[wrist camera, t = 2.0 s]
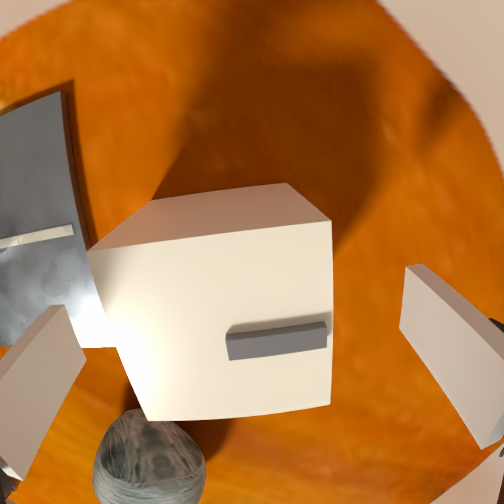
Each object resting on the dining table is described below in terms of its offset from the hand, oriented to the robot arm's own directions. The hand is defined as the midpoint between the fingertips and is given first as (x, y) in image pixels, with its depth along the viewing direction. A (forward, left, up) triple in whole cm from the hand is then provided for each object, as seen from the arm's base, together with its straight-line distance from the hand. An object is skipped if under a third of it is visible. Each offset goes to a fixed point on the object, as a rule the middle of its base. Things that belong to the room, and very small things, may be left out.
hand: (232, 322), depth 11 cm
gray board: (-18, +3, -7) cm, 20 cm away
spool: (-9, -17, -8) cm, 21 cm away
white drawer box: (0, 0, -7) cm, 7 cm away
